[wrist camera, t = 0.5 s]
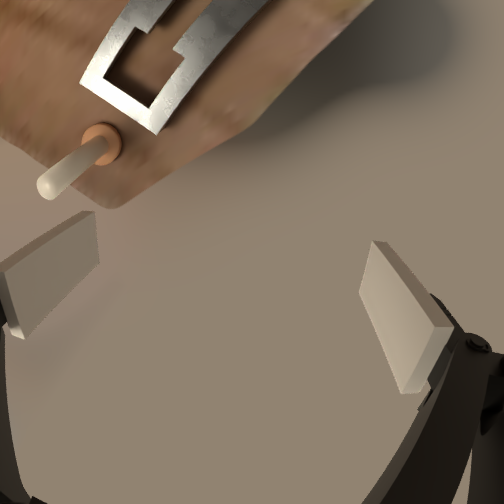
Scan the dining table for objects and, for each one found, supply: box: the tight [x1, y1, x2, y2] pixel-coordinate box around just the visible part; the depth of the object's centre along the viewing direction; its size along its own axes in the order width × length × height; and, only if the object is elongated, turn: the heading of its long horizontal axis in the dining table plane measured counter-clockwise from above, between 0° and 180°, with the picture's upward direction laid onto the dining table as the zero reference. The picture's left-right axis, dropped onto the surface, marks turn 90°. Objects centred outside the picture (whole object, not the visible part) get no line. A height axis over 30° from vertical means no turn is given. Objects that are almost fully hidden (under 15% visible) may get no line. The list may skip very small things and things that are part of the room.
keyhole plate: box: [80, 0, 272, 135], centre depth 28 cm, size 24×13×3 cm, turn 140°
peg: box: [37, 123, 122, 200], centre depth 33 cm, size 6×6×14 cm
